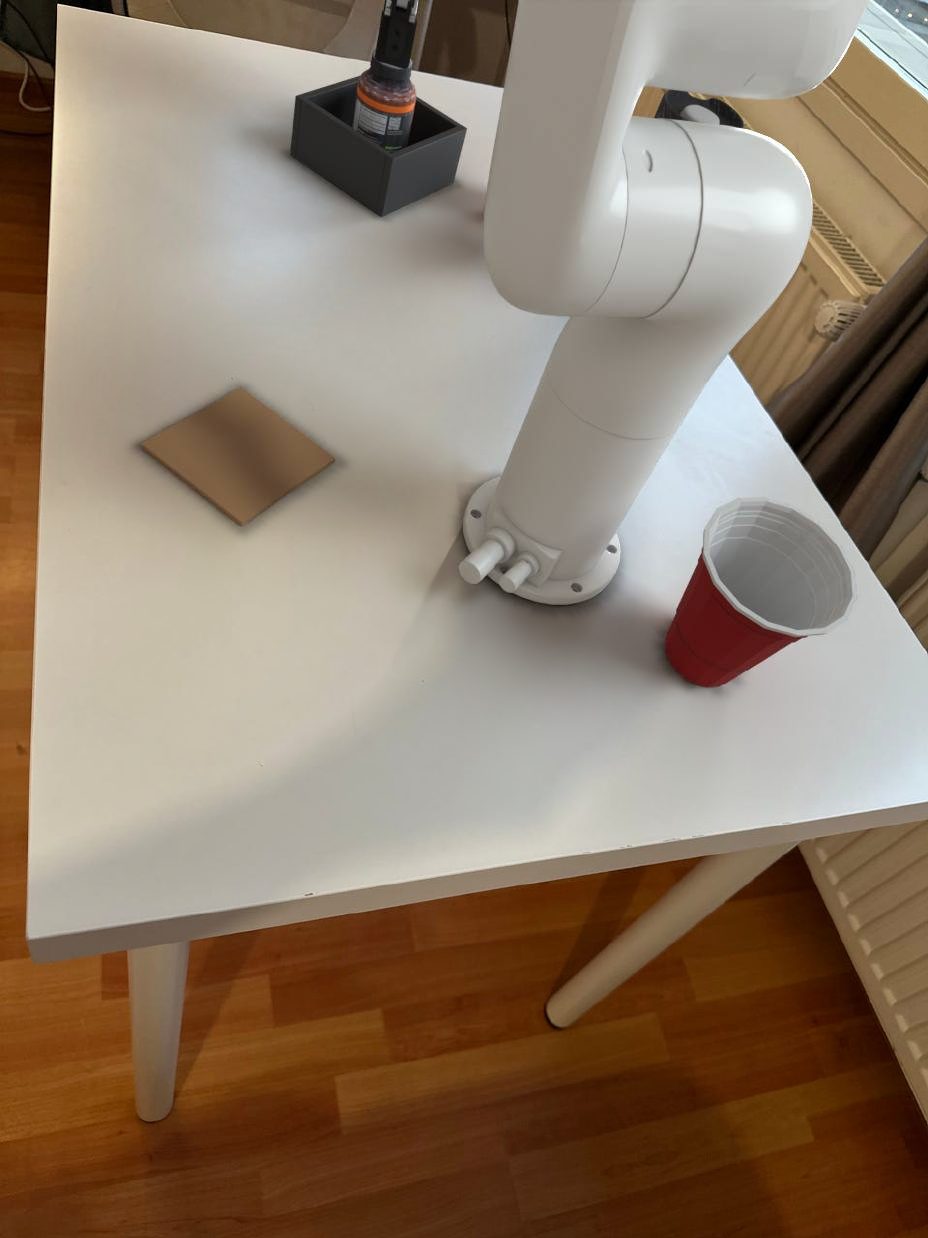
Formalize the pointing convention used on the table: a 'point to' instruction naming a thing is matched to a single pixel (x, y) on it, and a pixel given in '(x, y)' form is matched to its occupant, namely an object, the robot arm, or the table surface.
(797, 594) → the plastic cup
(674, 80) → the robot arm
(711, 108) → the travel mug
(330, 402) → the table surface
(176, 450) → the coaster
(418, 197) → the bin
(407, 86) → the supplement bottle
